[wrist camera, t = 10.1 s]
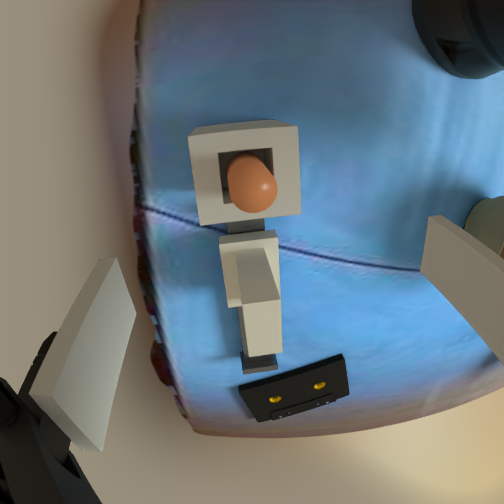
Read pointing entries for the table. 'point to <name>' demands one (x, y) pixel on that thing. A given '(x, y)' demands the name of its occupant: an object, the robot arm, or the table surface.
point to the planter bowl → (488, 224)
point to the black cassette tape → (297, 389)
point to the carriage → (254, 287)
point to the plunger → (250, 183)
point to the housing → (238, 141)
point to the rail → (248, 363)
